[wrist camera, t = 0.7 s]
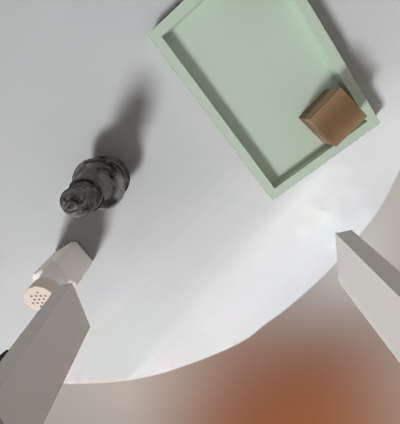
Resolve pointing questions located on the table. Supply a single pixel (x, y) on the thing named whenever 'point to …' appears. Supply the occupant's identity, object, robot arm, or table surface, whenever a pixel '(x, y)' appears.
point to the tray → (261, 80)
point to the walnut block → (333, 116)
